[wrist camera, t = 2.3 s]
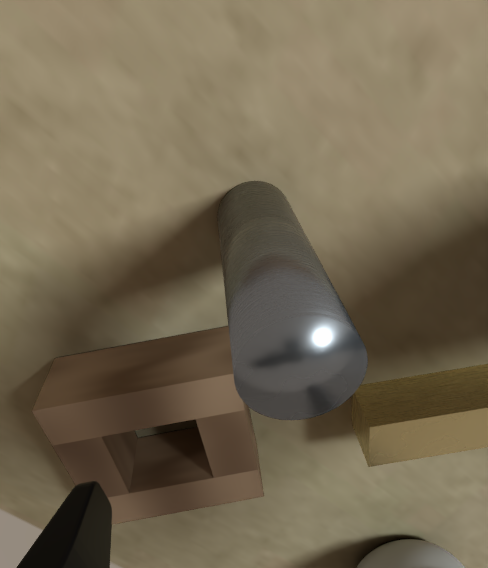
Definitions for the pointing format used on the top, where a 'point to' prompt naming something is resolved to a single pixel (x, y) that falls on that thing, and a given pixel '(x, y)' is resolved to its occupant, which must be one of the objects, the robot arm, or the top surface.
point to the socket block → (153, 424)
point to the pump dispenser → (409, 556)
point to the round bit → (283, 311)
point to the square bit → (422, 415)
